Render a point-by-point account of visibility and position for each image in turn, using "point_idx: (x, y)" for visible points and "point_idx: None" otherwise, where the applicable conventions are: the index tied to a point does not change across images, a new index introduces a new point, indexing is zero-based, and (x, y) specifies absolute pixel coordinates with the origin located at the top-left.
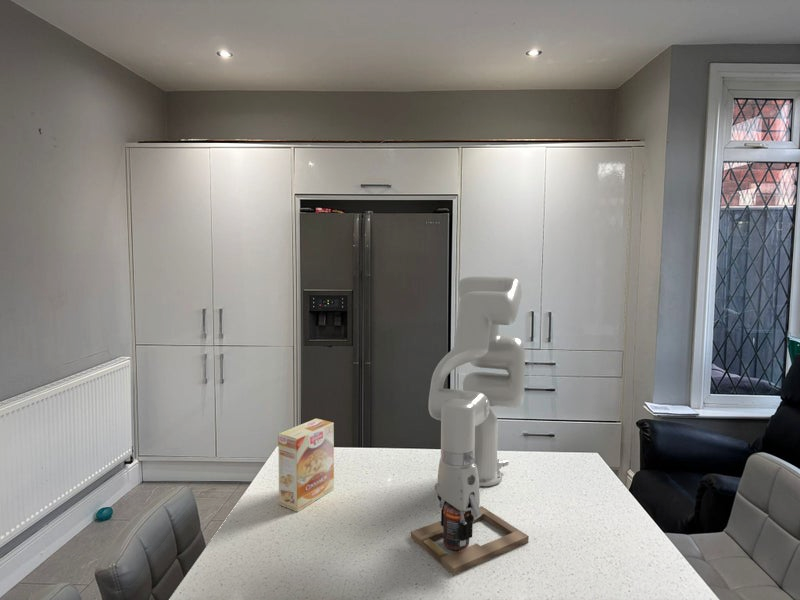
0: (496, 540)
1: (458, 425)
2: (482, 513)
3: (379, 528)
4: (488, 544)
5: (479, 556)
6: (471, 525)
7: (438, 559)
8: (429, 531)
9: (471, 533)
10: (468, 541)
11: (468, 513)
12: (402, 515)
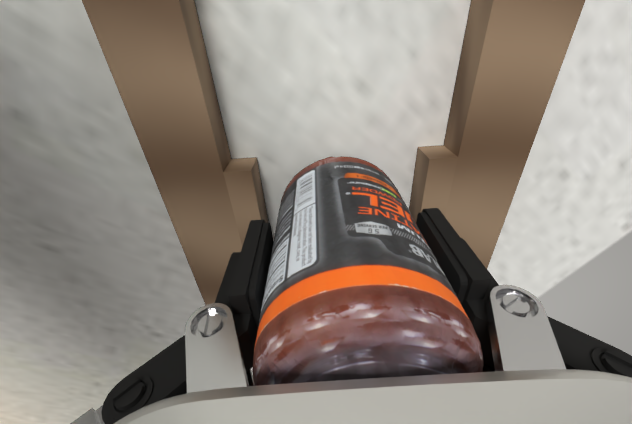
0: (497, 30)
1: None
2: None
3: (136, 345)
4: (481, 108)
5: (504, 208)
6: (493, 282)
7: None
8: None
9: (465, 243)
10: (399, 193)
11: (493, 348)
12: (50, 270)
